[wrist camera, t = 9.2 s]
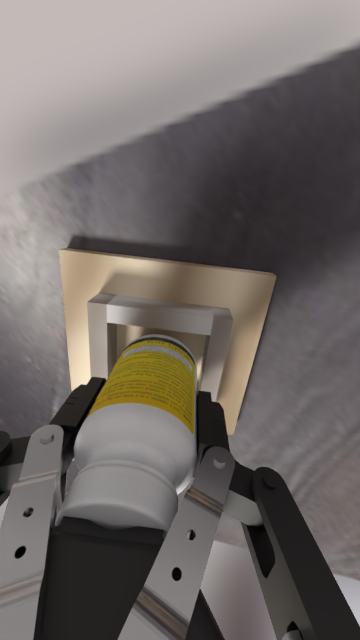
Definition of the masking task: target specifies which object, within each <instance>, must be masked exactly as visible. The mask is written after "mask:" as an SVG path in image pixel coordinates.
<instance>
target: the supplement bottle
mask: <svg viewBox="0 0 360 640" xmlns="http://www.w3.org/2000/svg"><path fill="white" fill-rule="evenodd" d="M74 459H75V463H76V467H77V469H78V471H79V473H78V474H77V476H76V477H75V479H74V480H73V482H72V484H71V485H70V488H69V490H68V493H67V495H66V497H65V499H64V502H63V504H62V506H61V508H60V510H59V512H58V514H57V517H56V520H55V526H59V525H60V523H61V521H62V519H63V516H66V517H73V518H81V519H88V520H90V521H92V522H94V523H96V524H98V525H100V526H102V527H104V528H106V529H108V530H110V531H116V530H122V529H128V528H133V527H146V528H153V529H161V530H164V531H163V539H164V540H165V538H166V535H167V533H168V531H169V529H170V526H171V524H172V522H173V520H174V518H175V515H176V513H177V511H178V506H177V504H178V495H177V494H179V493H180V492H181V491H183V490H184V489H185V487H186V486H187V485H188V484H189V482H190V481H191V479H192V477H193V475H194V472H195V468H196V462H197V365H196V361H195V358H194V356H193V354H192V353H191V351H190V350H189V349H188V348H187V347H186V346H185V345H184V344H183V343H182V342H180V341H179V340H177V339H175V338H173V337H170V336H167V335H162V334H150V335H145V336H142V337H139V338H137V339H135V340H133V341H132V342H131V343H129V344H128V345H127V346H126V347H125V349H124V350H123V352H122V353H121V355H120V357H119V358H118V360H117V362H116V364H115V366H114V367H113V369H112V371H111V373H110V375H109V377H108V378H107V380H106V382H105V384H104V386H103V387H102V389H101V391H100V393H99V395H98V397H97V398H96V400H95V402H94V404H93V405H92V408H91V409H90V411H89V412H88V414H87V416H86V418H85V420H84V422H83V424H82V426H81V428H80V430H79V432H78V435H77V437H76V440H75V445H74Z"/></svg>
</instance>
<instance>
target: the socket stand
mask: <svg viewBox="0 0 360 640" xmlns="http://www.w3.org/2000/svg"><path fill="white" fill-rule="evenodd" d="M59 256H60V267H61V278H62V289H63V300H64V311H65V322H66V333H67V344H68V355H69V366H70V377H71V388H72V391H73V390H74V389H75V388H77V387H78V386H80V385H81V384H84V385H87V383H88V382H89V380H90V379H91V377H100V378H106V380H107V378H108V377H109V375H110V373H111V371H112V369H113V367H114V366H115V364H116V362H117V360H118V358H119V357H120V355H121V353H122V352H123V350H124V349H125V347H126V346H127V345H128V344H129V343H131V342H132V341H133V340H135V339H137V338H139V337H142V336H145V335H150V334H162V335H167V336H170V337H173V338H175V339H177V340H179V341H180V342H182V343H183V344H184V345H185V346H186V347H187V348H188V349H189V350H190V351H191V353H192V354H193V356H194V358H195V361H196V365H197V394H198V390H199V391H207V392H211V398H212V402H219V403H220V405H221V406H222V408H223V409H224V415H225V422H226V429H227V434H231V435H233V433H234V429H235V426H236V422H237V419H238V415H239V411H240V408H241V404H242V400H243V397H244V393H245V390H246V386H247V382H248V379H249V375H250V371H251V368H252V364H253V361H254V357H255V353H256V350H257V346H258V342H259V339H260V335H261V332H262V328H263V324H264V321H265V317H266V313H267V310H268V306H269V303H270V299H271V295H272V292H273V288H274V284H275V281H276V277H277V276H276V275H274V274H273V273H269V272H261V271H253V270H245V269H237V268H228V267H220V266H212V265H204V264H195V263H187V262H179V261H171V260H163V259H154V258H146V257H138V256H130V255H122V254H113V253H105V252H97V251H89V250H81V249H72V248H64V249H59Z"/></svg>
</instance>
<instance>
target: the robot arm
mask: <svg viewBox="0 0 360 640" xmlns="http://www.w3.org/2000/svg"><path fill="white" fill-rule="evenodd" d="M105 382H106V378H100V377H91V379H90V380H89V382H88V383H87V385H84V384H81V385H80V386H78V387H77V388H75V389H74V390H73V391H72V393H71V394H70V396H69V398H67V400H66V401H65V403H64V404H63V405H62V407H61V408H60V410H59V411H58V412H57V414H56V415H55V417H54V418H53V419H52V421H51V422H50V424H49V425H46V426H43V427H41V428H39V429H38V430H36V431H35V432H34V433H33V434H32V436H28V437H22V438H15V439H10V435H9V434H8V433H7V432H4V431H0V506H1V505H2V504H3V503H4V501H5V500H6V499H7V498H8V497H9V499H8V503H7V506H6V510H5V514H4V517H3V521H2V525H1V528H0V640H225V639H224V637H223V635H222V633H221V631H220V629H219V627H218V625H217V623H216V620H215V618H214V617H213V614H212V612H211V610H210V608H209V606H208V604H207V602H206V600H205V598H204V596H203V593H202V591H201V589H200V586H201V582H202V579H203V575H204V572H205V569H206V565H207V562H208V558H209V554H210V551H211V548H212V544H213V541H214V537H215V534H216V531H217V527H218V524H219V520H220V517H221V513H222V512H224V513H226V514H228V515H230V516H231V517H233V518H235V519H237V520H239V521H241V525H242V528H243V531H244V534H245V537H246V541H247V544H248V547H249V550H250V553H251V557H252V560H253V563H254V567H255V570H256V573H257V576H258V579H259V583H260V586H261V589H262V593H263V596H264V599H265V602H266V605H267V608H268V612H269V615H270V618H271V622H272V625H273V628H274V631H275V634H276V638H277V640H360V626H359V624H358V623H357V621H356V619H355V617H354V615H353V613H352V611H351V609H350V607H349V605H348V603H347V601H346V600H345V597H344V595H343V594H342V592H341V590H340V588H339V586H338V584H337V582H336V580H335V578H334V576H333V574H332V572H331V570H330V568H329V566H328V564H327V563H326V561H325V559H324V557H323V555H322V553H321V551H320V549H319V547H318V545H317V543H316V541H315V539H314V537H313V536H312V534H311V532H310V530H309V528H308V526H307V524H306V522H305V520H304V518H303V516H302V514H301V512H300V510H299V509H298V507H297V505H296V503H295V501H294V499H293V497H292V495H291V493H290V491H289V489H288V487H287V485H286V483H285V482H284V480H283V478H282V477H281V476H280V475H279V474H278V473H277V472H276V471H274V470H273V469H271V468H268V467H259V468H257V469H256V470H255V471H253V470H251V469H249V468H247V467H244V466H243V465H241V464H239V463H238V462H237V461H236V460H235V459H234V457H233V456H232V454H231V452H230V449H229V443H228V436H227V429H226V422H225V415H224V409H223V408H222V406H221V405H220V403H219V402H212V398H211V392H207V391H199V390H198V394H197V462H196V468H195V472H194V475H193V477H195V478H194V480H193V483H192V485H191V487H190V489H189V490H187V492H186V493H185V495H184V498H183V500H182V502H181V504H180V506H179V509H178V511H177V513H176V515H175V518H174V520H173V522H172V524H171V526H170V529H169V531H168V533H167V535H166V538H165V540H164V539H163V531H164V530H161V529H153V528H146V527H133V528H128V529H122V530H116V531H110V530H108V529H106V528H104V527H102V526H100V525H98V524H96V523H94V522H92V521H90V520H88V519H81V518H73V517H66V516H63V519H62V521H61V523H60V525H59V526H55V520H56V517H57V514H58V512H59V510H60V508H61V506H62V504H63V502H64V499H65V497H66V492H67V480H68V467H69V465H70V463H71V461H75V459H74V445H75V440H76V437H77V435H78V432H79V430H80V428H81V426H82V424H83V422H84V420H85V418H86V416H87V414H88V412H89V411H90V409H91V408H92V405H93V404H94V402H95V400H96V398H97V397H98V395H99V393H100V391H101V389H102V387H103V386H104V384H105Z"/></svg>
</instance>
